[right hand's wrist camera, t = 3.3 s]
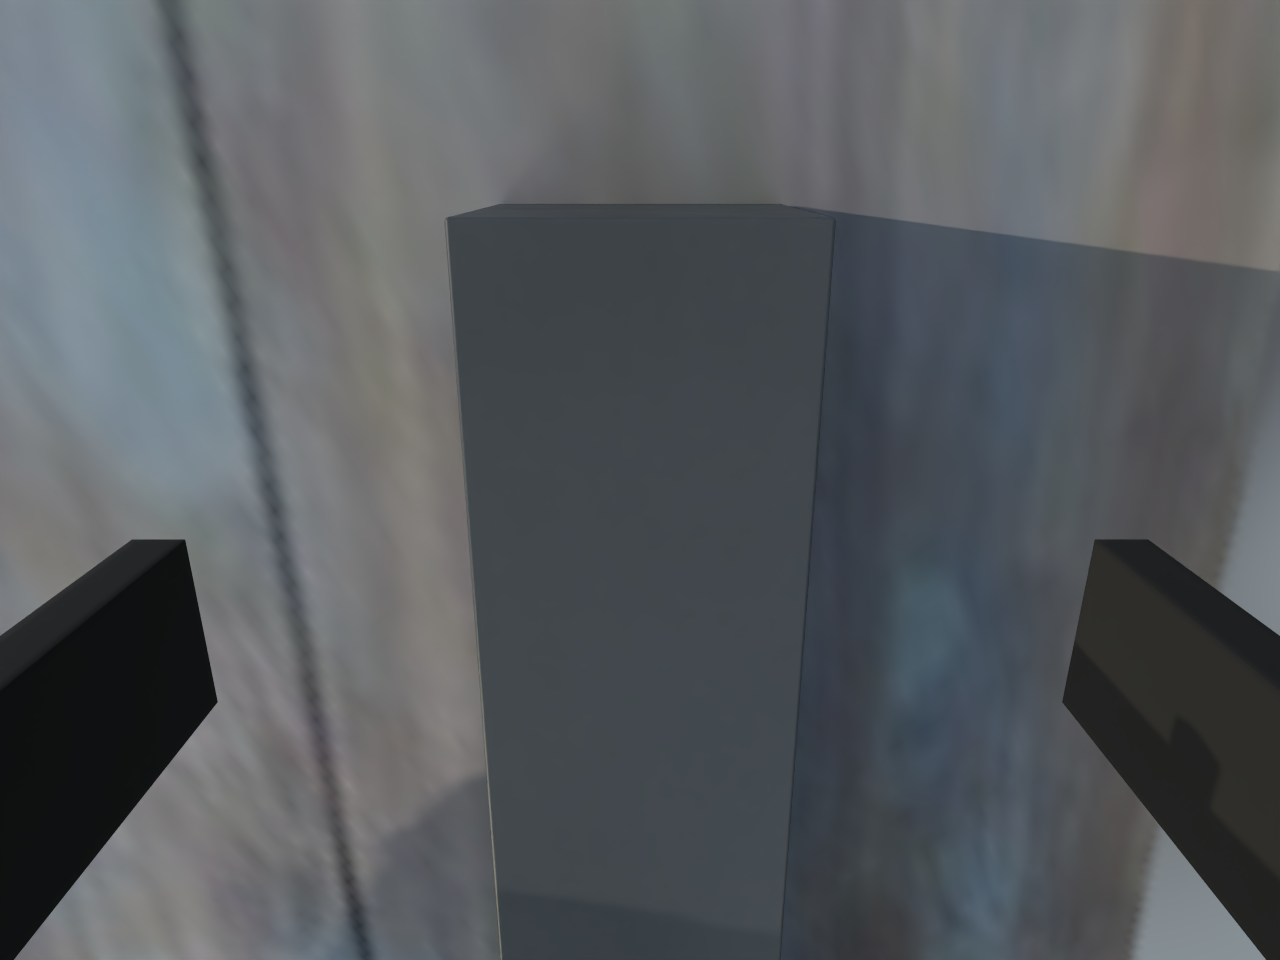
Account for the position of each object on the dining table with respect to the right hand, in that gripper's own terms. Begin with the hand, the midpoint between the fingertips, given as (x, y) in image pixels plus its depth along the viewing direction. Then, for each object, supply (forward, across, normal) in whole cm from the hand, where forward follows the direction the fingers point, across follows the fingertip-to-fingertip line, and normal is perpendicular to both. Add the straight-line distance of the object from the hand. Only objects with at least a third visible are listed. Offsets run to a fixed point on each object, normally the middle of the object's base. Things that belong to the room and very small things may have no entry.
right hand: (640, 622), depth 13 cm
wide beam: (+16, 0, -22) cm, 27 cm away
